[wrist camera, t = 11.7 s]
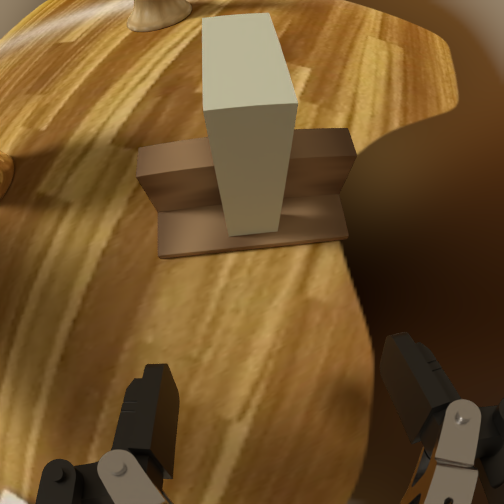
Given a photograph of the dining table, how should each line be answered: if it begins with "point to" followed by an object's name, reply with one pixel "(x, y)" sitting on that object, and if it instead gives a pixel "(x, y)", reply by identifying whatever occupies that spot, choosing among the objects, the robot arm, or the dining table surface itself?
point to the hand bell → (157, 14)
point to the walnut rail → (210, 205)
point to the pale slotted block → (248, 118)
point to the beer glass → (5, 172)
